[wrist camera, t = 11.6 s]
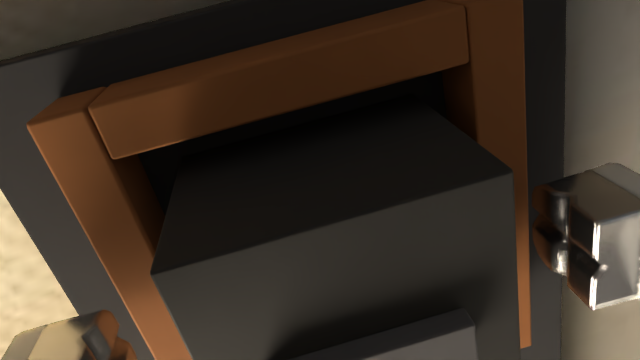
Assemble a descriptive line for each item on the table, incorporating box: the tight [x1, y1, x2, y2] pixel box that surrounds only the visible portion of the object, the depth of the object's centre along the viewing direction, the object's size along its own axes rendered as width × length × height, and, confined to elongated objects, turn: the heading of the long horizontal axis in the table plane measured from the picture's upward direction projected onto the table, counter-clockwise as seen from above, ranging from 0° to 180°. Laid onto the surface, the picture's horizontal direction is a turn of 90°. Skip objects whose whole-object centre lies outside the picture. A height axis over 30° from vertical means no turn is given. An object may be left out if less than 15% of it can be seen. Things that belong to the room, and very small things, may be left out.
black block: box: [150, 94, 521, 360], centre depth 9 cm, size 5×5×4 cm
